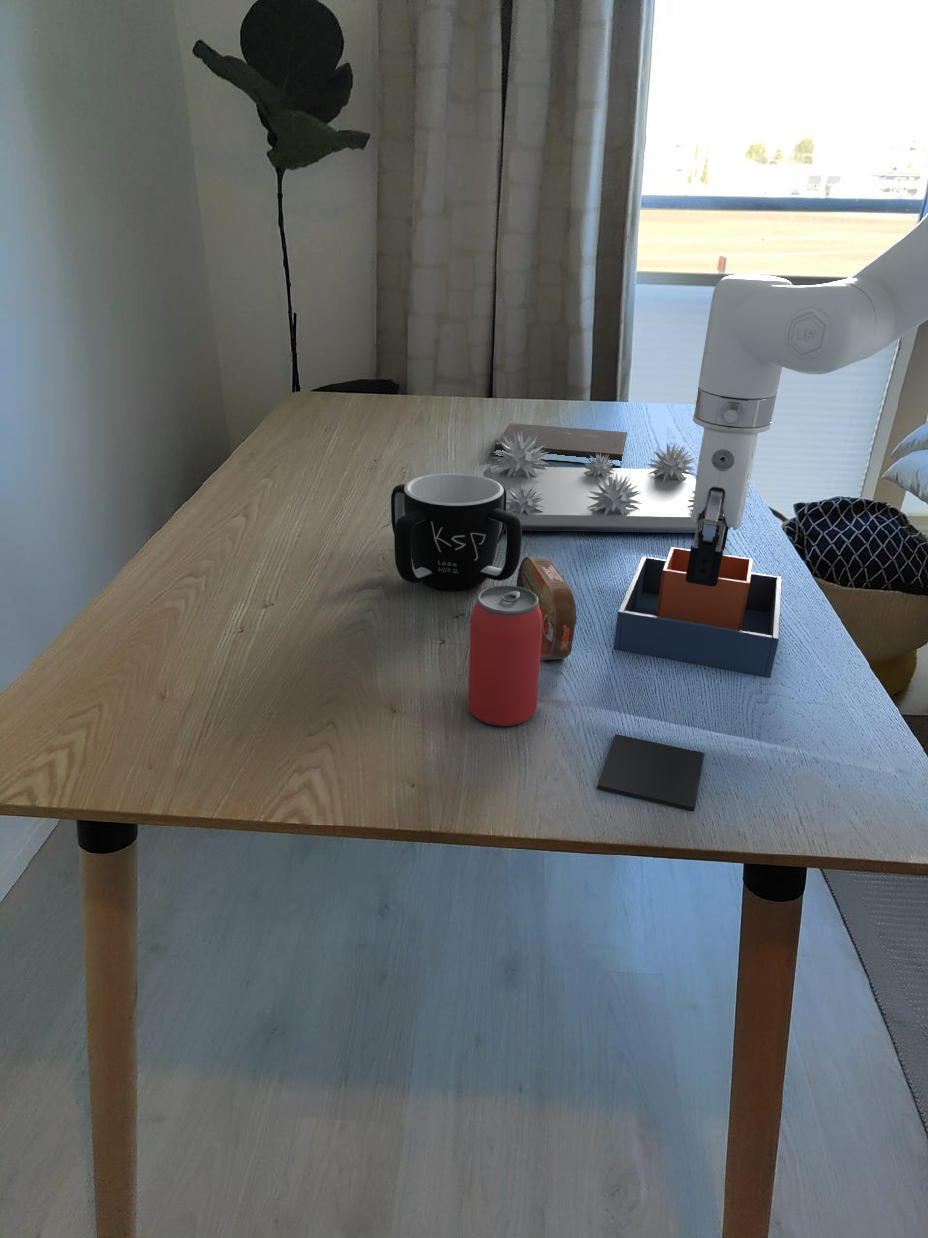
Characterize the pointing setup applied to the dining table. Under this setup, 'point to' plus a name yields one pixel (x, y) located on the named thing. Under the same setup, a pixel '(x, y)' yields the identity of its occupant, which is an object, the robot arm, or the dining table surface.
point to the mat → (652, 772)
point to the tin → (550, 605)
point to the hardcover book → (569, 440)
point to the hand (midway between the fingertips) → (705, 565)
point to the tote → (700, 626)
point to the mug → (453, 530)
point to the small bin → (705, 592)
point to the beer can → (504, 655)
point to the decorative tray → (596, 492)
